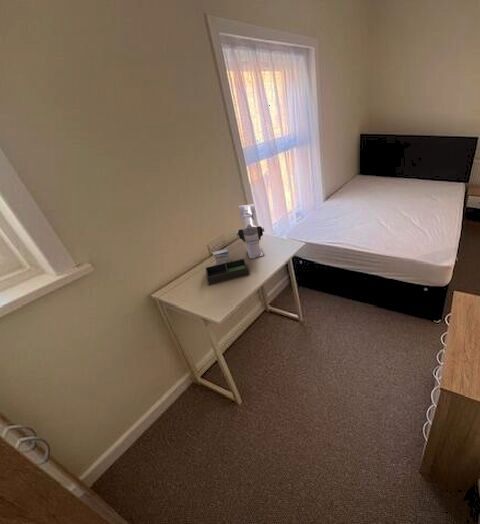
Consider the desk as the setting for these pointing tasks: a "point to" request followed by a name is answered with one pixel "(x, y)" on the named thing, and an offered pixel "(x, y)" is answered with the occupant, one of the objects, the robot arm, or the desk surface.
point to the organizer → (226, 271)
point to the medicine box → (221, 256)
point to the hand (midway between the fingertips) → (251, 239)
